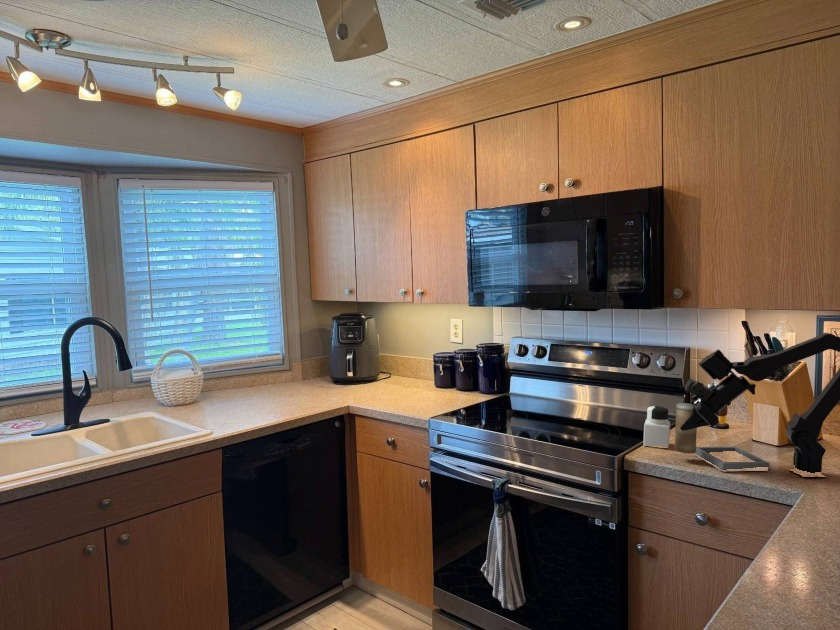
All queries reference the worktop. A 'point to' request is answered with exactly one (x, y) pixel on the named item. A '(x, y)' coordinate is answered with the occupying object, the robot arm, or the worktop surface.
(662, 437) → the medicine bottle
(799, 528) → the worktop surface
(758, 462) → the tray
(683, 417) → the translucent brown jar
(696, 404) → the robot arm
